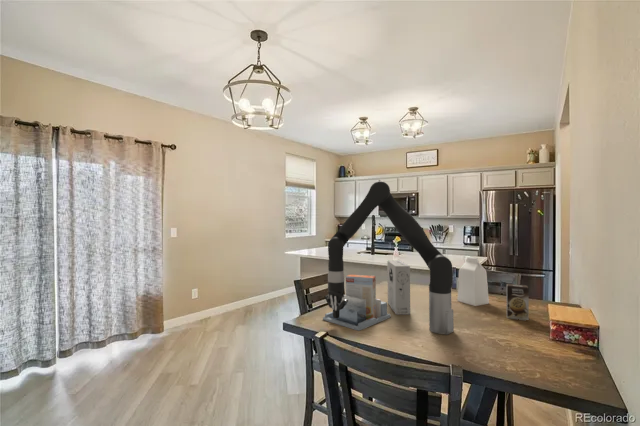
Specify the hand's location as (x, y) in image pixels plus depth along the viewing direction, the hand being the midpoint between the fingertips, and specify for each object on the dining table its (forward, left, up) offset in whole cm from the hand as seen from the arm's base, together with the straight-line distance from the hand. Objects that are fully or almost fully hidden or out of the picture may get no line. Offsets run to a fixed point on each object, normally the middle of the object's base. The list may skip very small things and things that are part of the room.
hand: (336, 317), depth 146 cm
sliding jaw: (0, -9, -4) cm, 10 cm away
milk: (-31, -86, -4) cm, 91 cm away
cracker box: (-1, -18, -4) cm, 19 cm away
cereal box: (-6, -45, -4) cm, 45 cm away
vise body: (0, -16, -4) cm, 16 cm away
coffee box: (-57, -71, -4) cm, 91 cm away
